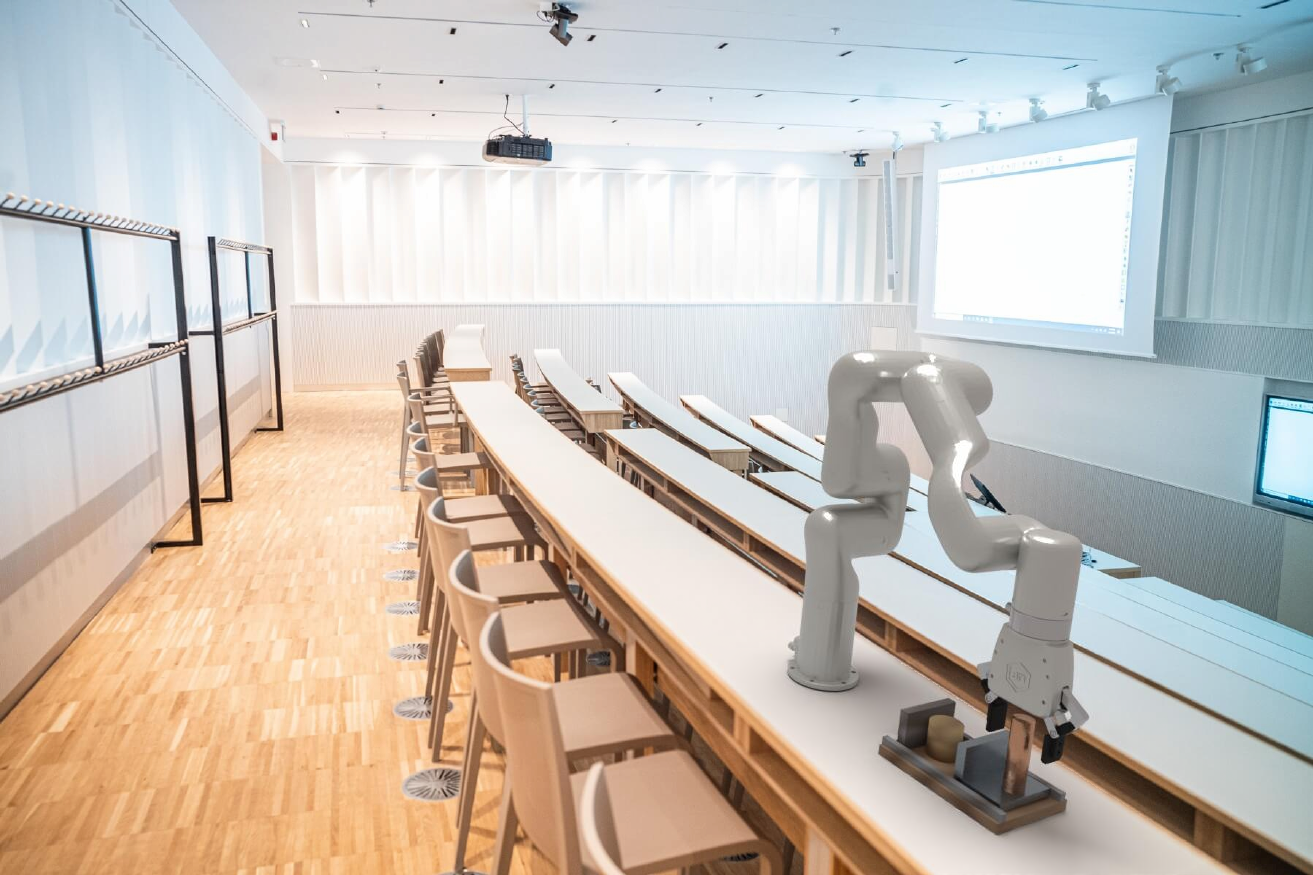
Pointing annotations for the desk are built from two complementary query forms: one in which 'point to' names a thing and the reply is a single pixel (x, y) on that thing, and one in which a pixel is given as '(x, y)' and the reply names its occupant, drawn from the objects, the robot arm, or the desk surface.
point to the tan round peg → (944, 738)
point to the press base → (940, 775)
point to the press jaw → (1001, 765)
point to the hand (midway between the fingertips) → (1021, 744)
